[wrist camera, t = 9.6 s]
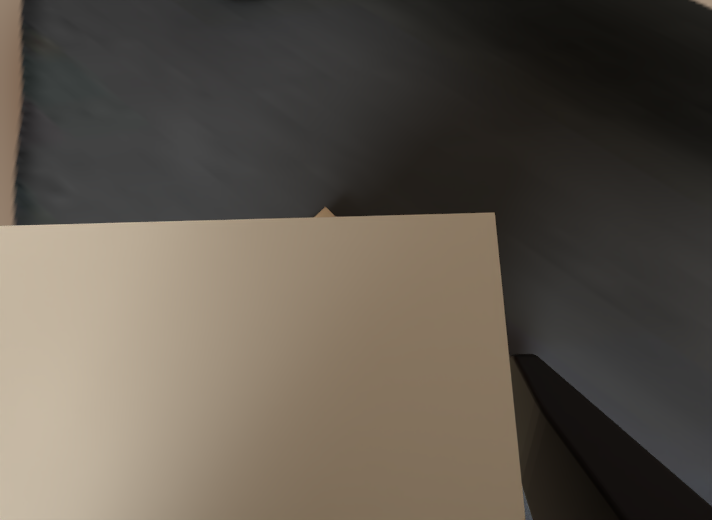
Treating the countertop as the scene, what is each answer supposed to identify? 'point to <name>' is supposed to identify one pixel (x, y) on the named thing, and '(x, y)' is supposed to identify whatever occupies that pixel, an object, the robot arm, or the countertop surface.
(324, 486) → the pillar block
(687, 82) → the countertop surface
